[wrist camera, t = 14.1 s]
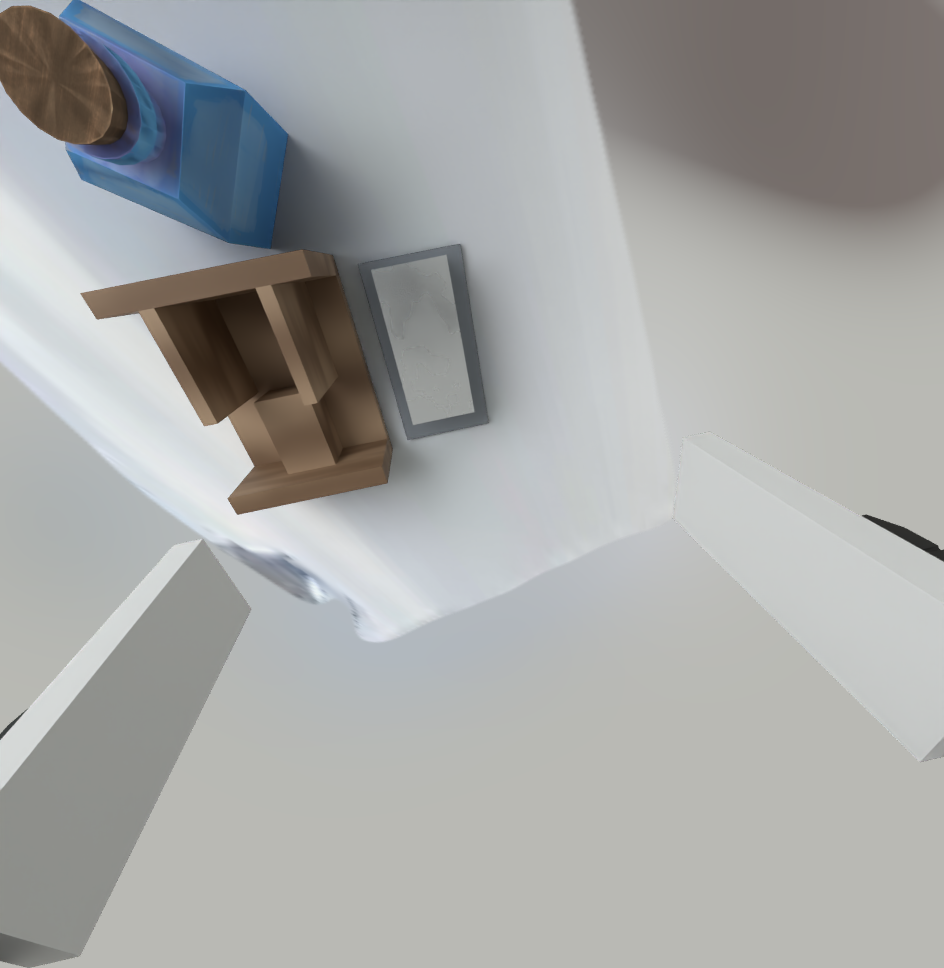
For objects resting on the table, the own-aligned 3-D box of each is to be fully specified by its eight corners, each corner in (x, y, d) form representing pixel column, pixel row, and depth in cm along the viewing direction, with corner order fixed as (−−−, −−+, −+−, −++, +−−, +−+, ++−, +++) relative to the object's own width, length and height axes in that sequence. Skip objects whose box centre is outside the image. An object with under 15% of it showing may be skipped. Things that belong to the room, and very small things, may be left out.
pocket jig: (169, 287, 25) (80, 293, 18) (332, 254, 25) (302, 249, 19) (266, 475, 32) (228, 527, 26) (392, 449, 32) (385, 493, 26)
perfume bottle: (270, 248, 24) (161, 232, 14) (161, 201, 23) (-56, 142, 12) (288, 134, 22) (170, 12, 12) (166, 70, 20) (-102, -143, 10)
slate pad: (358, 264, 25) (357, 264, 25) (459, 244, 26) (460, 243, 25) (407, 438, 32) (407, 440, 32) (487, 421, 32) (488, 423, 32)
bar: (376, 270, 25) (370, 270, 22) (443, 256, 25) (446, 254, 22) (413, 409, 30) (413, 425, 27) (469, 398, 30) (474, 412, 27)
